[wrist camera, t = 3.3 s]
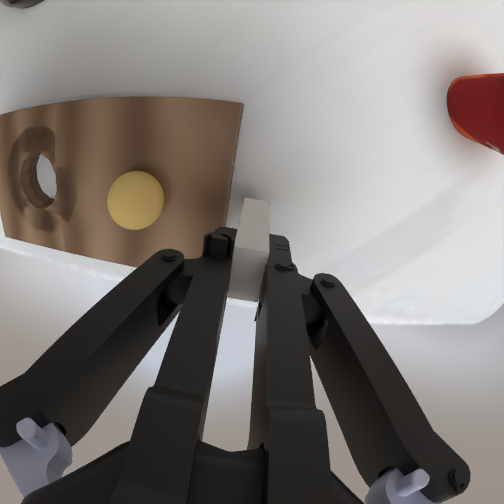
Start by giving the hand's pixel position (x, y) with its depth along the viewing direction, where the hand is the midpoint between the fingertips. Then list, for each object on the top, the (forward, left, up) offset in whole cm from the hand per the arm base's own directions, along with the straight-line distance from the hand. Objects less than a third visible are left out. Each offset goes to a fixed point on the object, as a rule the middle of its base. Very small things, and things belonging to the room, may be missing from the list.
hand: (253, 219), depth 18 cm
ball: (-6, -5, 0) cm, 8 cm away
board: (-11, -10, -4) cm, 16 cm away
